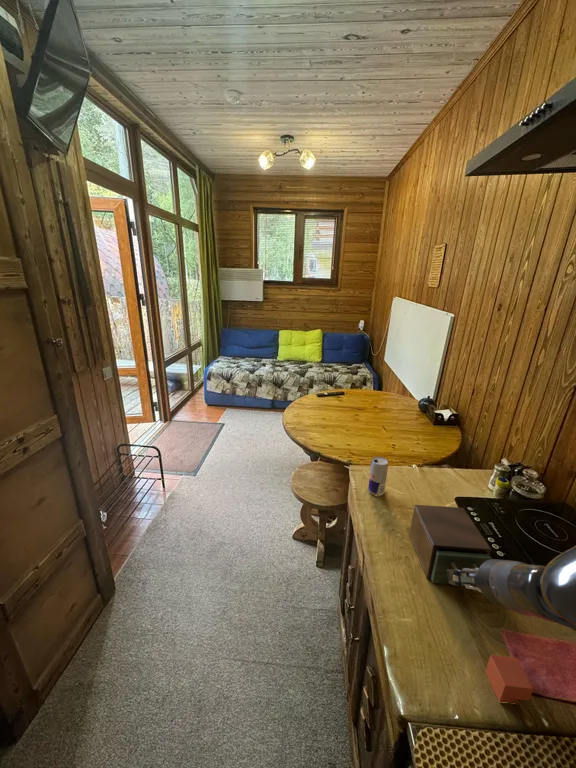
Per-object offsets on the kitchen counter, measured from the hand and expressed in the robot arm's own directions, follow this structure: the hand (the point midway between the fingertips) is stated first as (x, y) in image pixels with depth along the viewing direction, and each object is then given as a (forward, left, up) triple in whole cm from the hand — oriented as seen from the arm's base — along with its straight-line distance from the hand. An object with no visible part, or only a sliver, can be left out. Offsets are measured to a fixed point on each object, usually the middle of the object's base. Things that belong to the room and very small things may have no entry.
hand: (466, 576), depth 67 cm
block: (0, +16, -6) cm, 17 cm away
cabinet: (0, -11, -6) cm, 12 cm away
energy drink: (+12, -36, -6) cm, 38 cm away
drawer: (0, -6, -5) cm, 8 cm away
